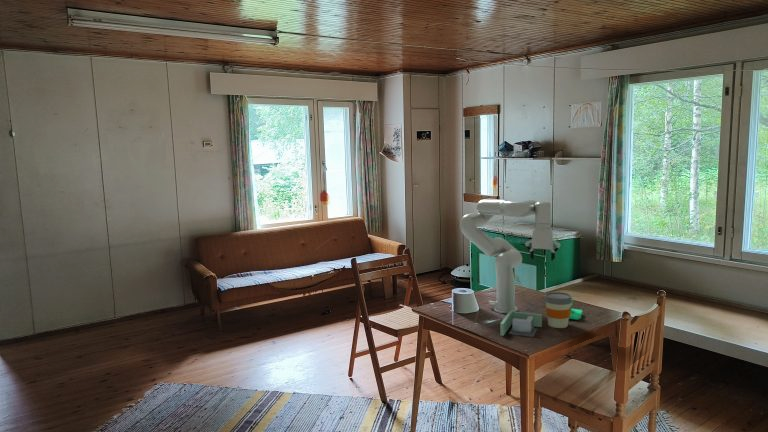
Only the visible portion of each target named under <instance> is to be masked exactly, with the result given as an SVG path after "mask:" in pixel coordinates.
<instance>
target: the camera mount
mask: <svg viewBox="0 0 768 432" xmlns="http://www.w3.org/2000/svg"><path fill="white" fill-rule="evenodd" d="M573 301H574V299H573V297H572V303H571V307H573ZM582 315H583V310H582V309H577V308H571V313H570V317H569V320H572V319H573V320H580V319H581V318H582Z"/></svg>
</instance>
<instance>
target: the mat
mask: <svg viewBox="0 0 768 432" xmlns="http://www.w3.org/2000/svg"><path fill="white" fill-rule="evenodd" d="M537 331H538V328H534V329H533V331H532V333H531V334H525V333H516V332H512V328H511V329H510V331H509V332H508V335H515V336H524V337H532V338H533V337H535V334H536V333H537Z"/></svg>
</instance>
